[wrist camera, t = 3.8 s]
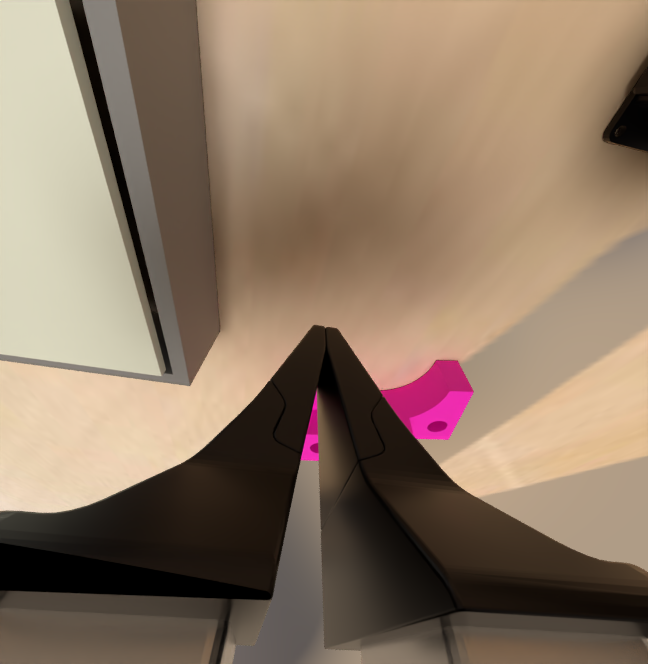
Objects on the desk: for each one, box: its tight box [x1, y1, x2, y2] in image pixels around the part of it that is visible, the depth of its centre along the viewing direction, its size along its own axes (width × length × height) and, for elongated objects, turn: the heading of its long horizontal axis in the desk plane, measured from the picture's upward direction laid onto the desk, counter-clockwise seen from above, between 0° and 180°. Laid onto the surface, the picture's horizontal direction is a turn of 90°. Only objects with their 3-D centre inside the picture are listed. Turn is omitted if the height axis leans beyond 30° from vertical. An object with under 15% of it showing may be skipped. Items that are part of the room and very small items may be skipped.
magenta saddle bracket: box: [301, 360, 474, 461], centre depth 25 cm, size 15×6×8 cm
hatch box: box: [0, 0, 220, 386], centre depth 14 cm, size 14×21×6 cm, turn 170°
